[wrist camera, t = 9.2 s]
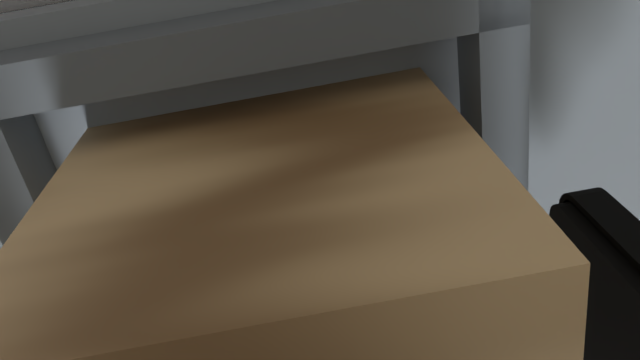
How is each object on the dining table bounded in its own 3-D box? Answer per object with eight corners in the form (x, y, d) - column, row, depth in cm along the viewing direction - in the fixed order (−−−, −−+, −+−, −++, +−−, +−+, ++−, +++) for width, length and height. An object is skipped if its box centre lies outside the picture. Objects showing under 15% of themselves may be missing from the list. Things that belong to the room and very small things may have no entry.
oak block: (419, 67, 10) (590, 263, 5) (440, 322, 13) (563, 624, 8) (87, 128, 10) (-102, 390, 5) (179, 371, 13) (121, 707, 8)
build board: (780, -128, 10) (902, -131, 8) (687, 362, 16) (747, 429, 14) (-108, 33, 10) (-197, 68, 8) (112, 469, 16) (91, 551, 14)
